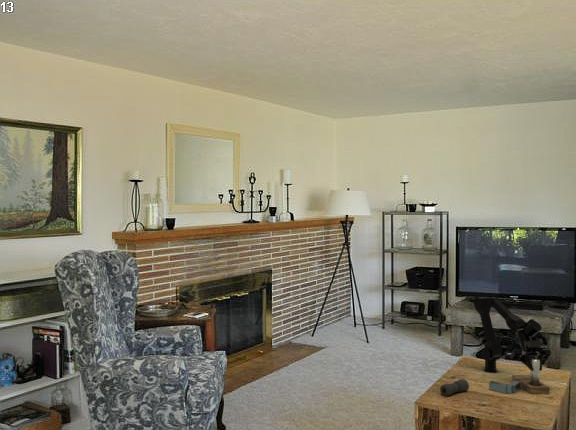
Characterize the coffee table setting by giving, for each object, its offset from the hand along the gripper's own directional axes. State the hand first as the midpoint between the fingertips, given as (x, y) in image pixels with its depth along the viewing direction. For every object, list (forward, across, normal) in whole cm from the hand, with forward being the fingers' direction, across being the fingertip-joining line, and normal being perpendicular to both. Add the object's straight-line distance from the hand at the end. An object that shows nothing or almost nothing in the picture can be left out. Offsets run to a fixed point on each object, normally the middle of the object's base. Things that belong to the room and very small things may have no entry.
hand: (536, 370), depth 268 cm
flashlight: (+7, -40, +8) cm, 41 cm away
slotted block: (+3, 0, +11) cm, 12 cm away
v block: (+6, -14, +8) cm, 17 cm away
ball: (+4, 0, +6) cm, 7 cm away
